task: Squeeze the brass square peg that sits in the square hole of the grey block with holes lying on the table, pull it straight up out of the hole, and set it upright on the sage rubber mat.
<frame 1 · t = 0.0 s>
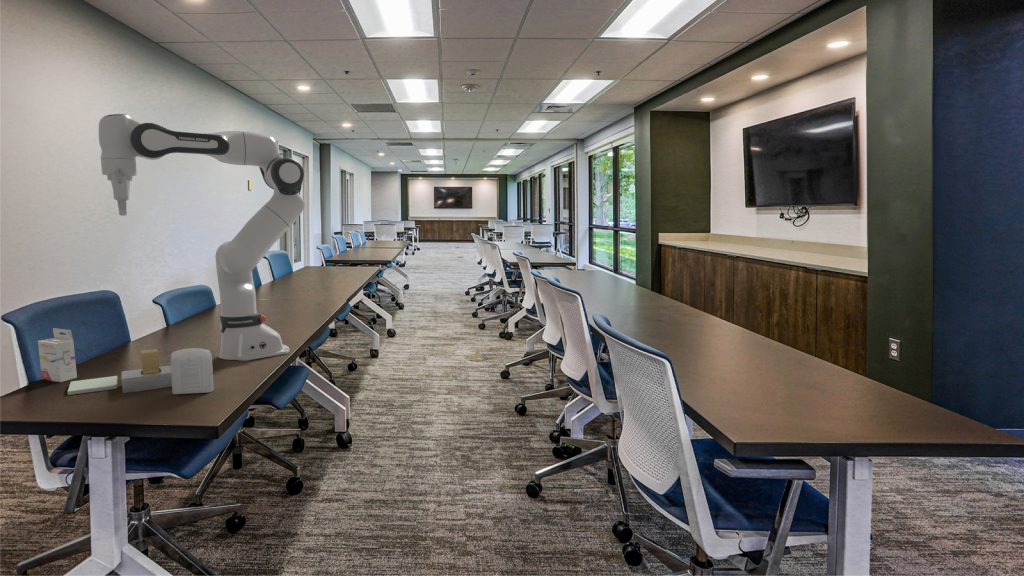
hand: (123, 215, 180), 48 cm above the table, fingers open, 8 cm apart
ink cartridge box: (59, 379, 175), on the table
sage mat: (93, 386, 167), on the table
photo printer: (193, 393, 162), on the table
brass peg: (152, 385, 169), resting in grey block with holes
grey block with holes: (160, 383, 170), on the table
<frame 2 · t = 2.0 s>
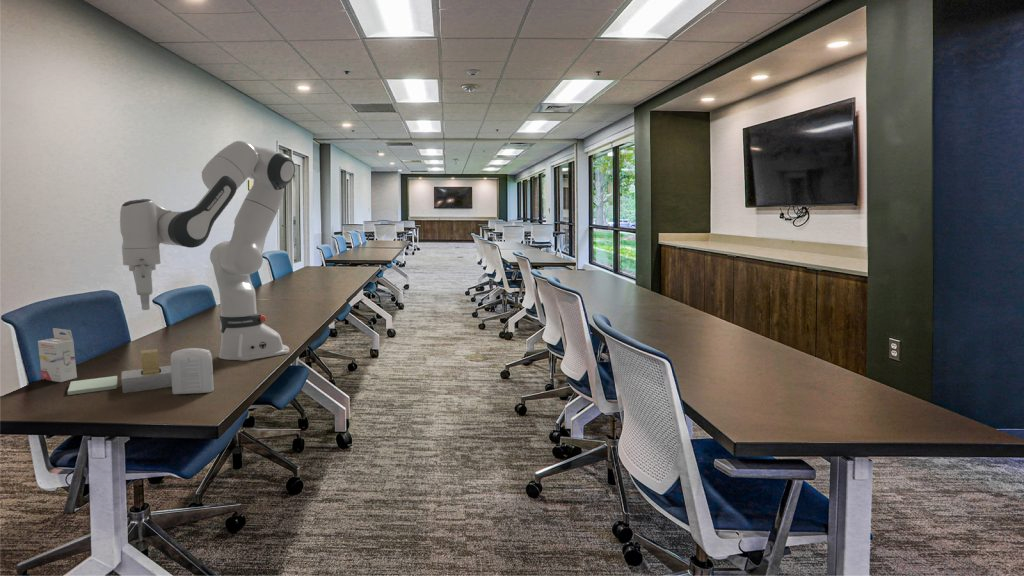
hand: (145, 307, 166), 23 cm above the table, fingers open, 8 cm apart
nothing on the table moved.
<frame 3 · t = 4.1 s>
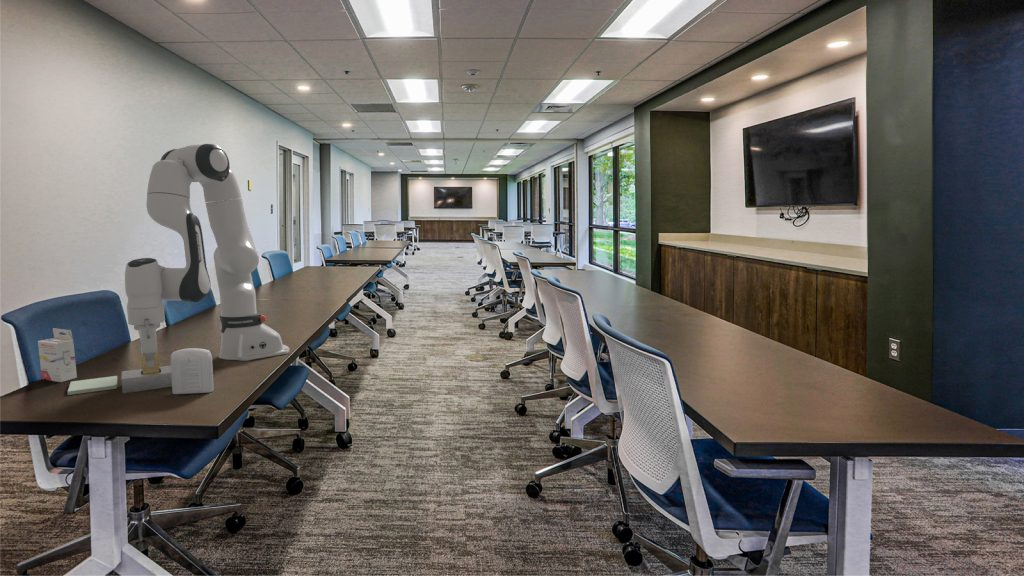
hand: (150, 364, 168), 6 cm above the table, fingers closed on brass peg, 4 cm apart
brass peg: (152, 385, 169), resting in grey block with holes, touching gripper
everything else where it was.
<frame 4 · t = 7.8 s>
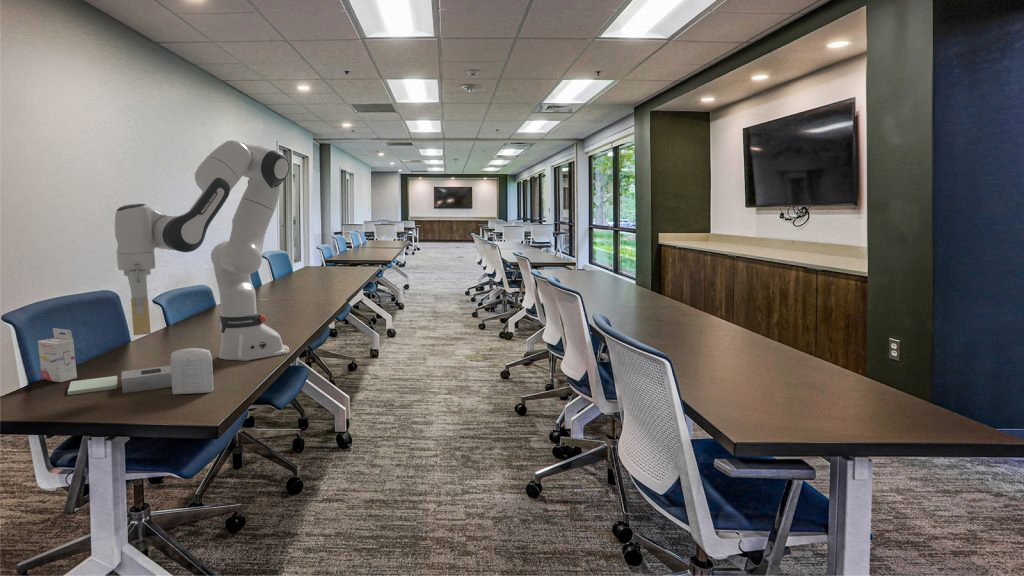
hand: (140, 311, 166), 21 cm above the table, fingers closed on brass peg, 4 cm apart
brass peg: (142, 333, 166), point 15 cm above the table, touching gripper
everything else where it was.
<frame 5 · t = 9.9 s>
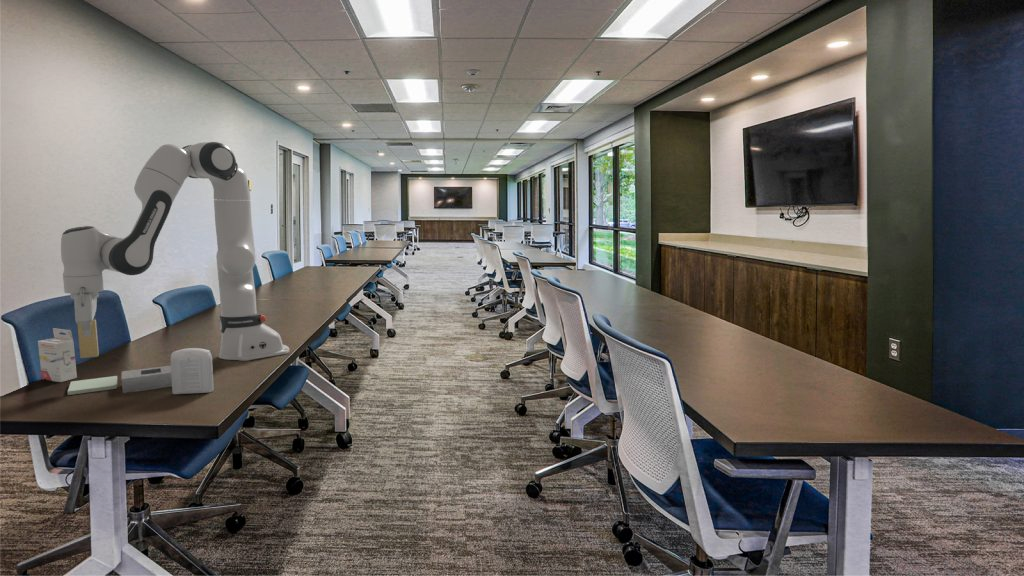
hand: (88, 334, 165), 15 cm above the table, fingers closed on brass peg, 4 cm apart
brass peg: (89, 355, 166), point 9 cm above the table, touching gripper
everything else where it was.
when the fingers open (9 cm above the table, at t = 11.8 s): brass peg drops 1 cm, resting on sage mat.
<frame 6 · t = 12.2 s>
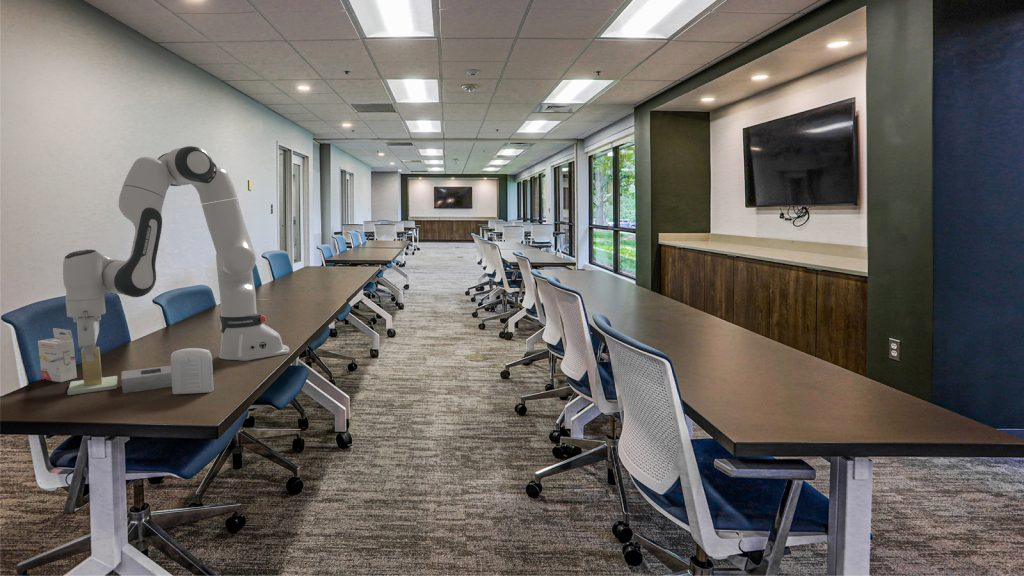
hand: (91, 357, 166), 9 cm above the table, fingers open, 8 cm apart
brass peg: (93, 383, 167), point 1 cm above the table, touching sage mat
everything else where it was.
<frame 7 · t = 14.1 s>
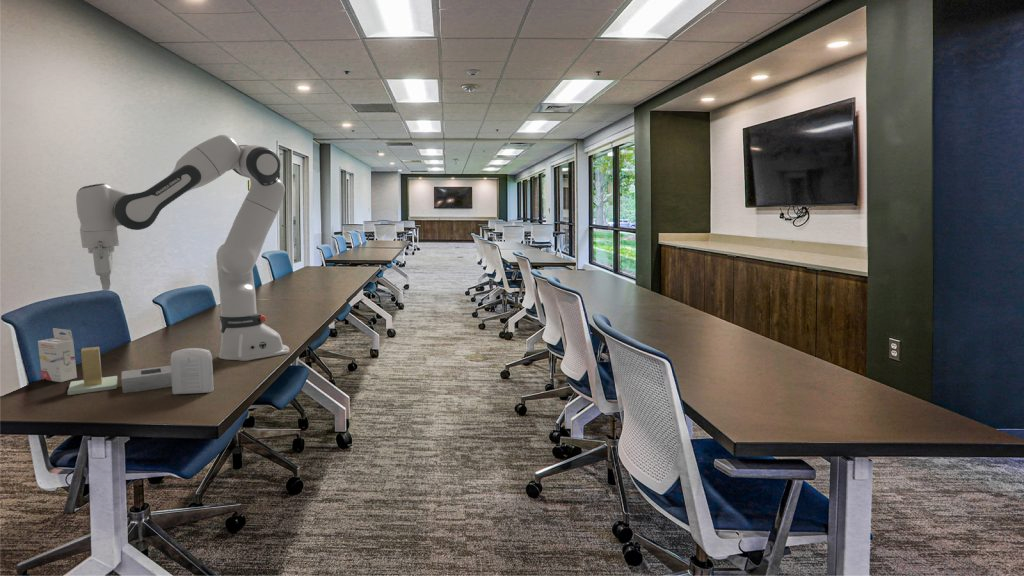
hand: (106, 287, 173), 27 cm above the table, fingers open, 8 cm apart
nothing on the table moved.
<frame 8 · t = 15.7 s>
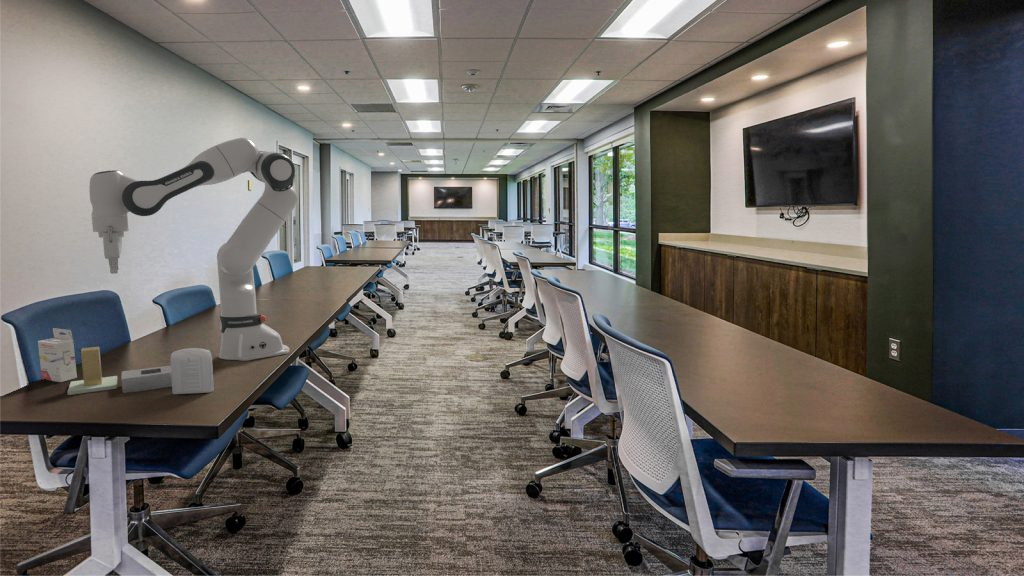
hand: (114, 272, 177), 31 cm above the table, fingers open, 8 cm apart
nothing on the table moved.
at the end: brass peg inside the target area on the sage mat (0.0 cm from its centre), point 1.0 cm above the sage mat's base; brass peg tilted 0°; the gripper is holding nothing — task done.
